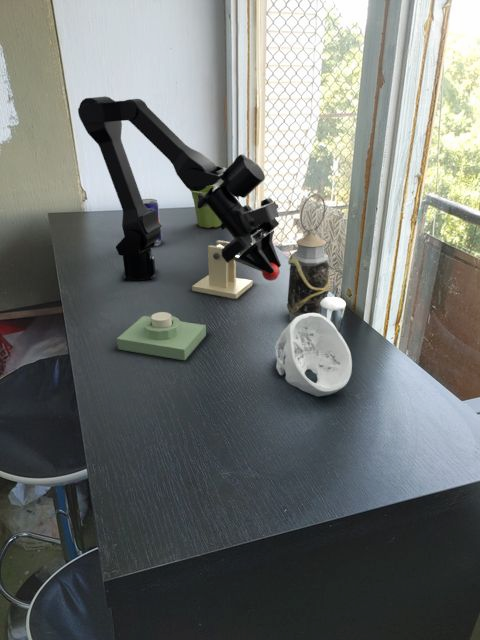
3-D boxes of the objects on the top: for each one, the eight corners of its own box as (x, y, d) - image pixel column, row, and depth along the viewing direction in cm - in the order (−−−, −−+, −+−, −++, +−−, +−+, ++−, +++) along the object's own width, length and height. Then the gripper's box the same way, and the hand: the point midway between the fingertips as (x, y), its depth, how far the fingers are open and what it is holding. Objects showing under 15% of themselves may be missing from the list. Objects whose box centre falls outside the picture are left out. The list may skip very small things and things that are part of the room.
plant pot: (227, 231, 160) (226, 193, 154) (188, 230, 160) (186, 192, 154) (230, 220, 170) (229, 185, 165) (193, 219, 170) (192, 184, 165)
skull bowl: (305, 340, 95) (330, 302, 85) (338, 409, 89) (369, 376, 79) (253, 352, 91) (273, 312, 80) (284, 424, 85) (310, 392, 75)
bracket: (252, 285, 122) (252, 242, 117) (236, 299, 115) (235, 254, 110) (210, 277, 126) (209, 235, 120) (192, 290, 118) (189, 246, 113)
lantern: (305, 307, 112) (313, 187, 99) (335, 319, 107) (347, 194, 94) (277, 319, 106) (282, 193, 94) (307, 332, 101) (316, 202, 89)
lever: (279, 279, 116) (283, 264, 113) (273, 285, 112) (277, 269, 110) (218, 255, 119) (221, 240, 117) (211, 260, 116) (214, 244, 114)
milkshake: (344, 338, 99) (349, 289, 95) (338, 350, 95) (344, 300, 90) (321, 334, 101) (325, 285, 96) (314, 346, 96) (318, 296, 91)
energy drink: (157, 247, 145) (153, 203, 139) (139, 246, 146) (134, 202, 140) (164, 241, 149) (161, 199, 143) (146, 240, 150) (142, 198, 144)
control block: (118, 349, 94) (115, 329, 92) (144, 325, 102) (142, 307, 100) (184, 360, 91) (183, 340, 89) (206, 335, 99) (205, 316, 97)
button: (148, 327, 94) (147, 318, 93) (157, 319, 97) (156, 310, 96) (166, 330, 93) (166, 321, 92) (175, 322, 96) (174, 313, 95)
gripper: (236, 196, 99) (287, 262, 100) (272, 179, 114) (316, 236, 116) (200, 231, 105) (248, 292, 107) (239, 210, 120) (281, 264, 122)
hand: (275, 269), depth 113 cm, fingers closed on lever, 3 cm apart
